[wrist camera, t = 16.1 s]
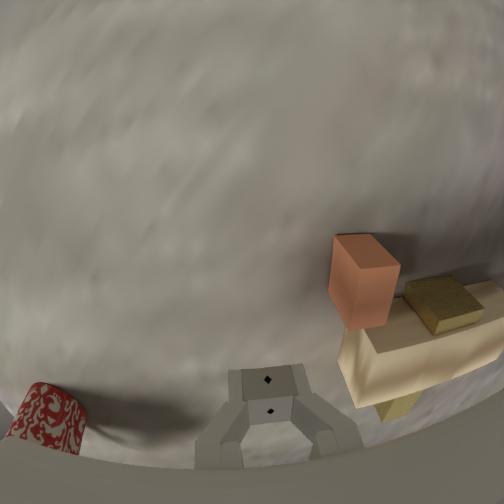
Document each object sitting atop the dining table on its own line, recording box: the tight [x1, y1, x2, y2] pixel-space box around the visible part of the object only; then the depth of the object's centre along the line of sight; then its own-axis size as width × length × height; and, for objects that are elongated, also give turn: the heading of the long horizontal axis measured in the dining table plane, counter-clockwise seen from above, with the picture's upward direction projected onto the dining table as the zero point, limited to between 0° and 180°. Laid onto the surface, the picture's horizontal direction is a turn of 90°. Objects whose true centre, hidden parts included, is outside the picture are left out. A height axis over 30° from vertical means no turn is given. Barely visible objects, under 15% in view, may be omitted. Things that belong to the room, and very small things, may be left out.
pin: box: [374, 275, 485, 422], centre depth 21 cm, size 15×5×5 cm, turn 2°
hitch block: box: [338, 280, 504, 409], centre depth 20 cm, size 6×16×5 cm, turn 92°
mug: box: [4, 383, 87, 455], centre depth 19 cm, size 13×9×14 cm
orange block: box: [328, 234, 401, 331], centre depth 16 cm, size 4×2×4 cm, turn 2°
